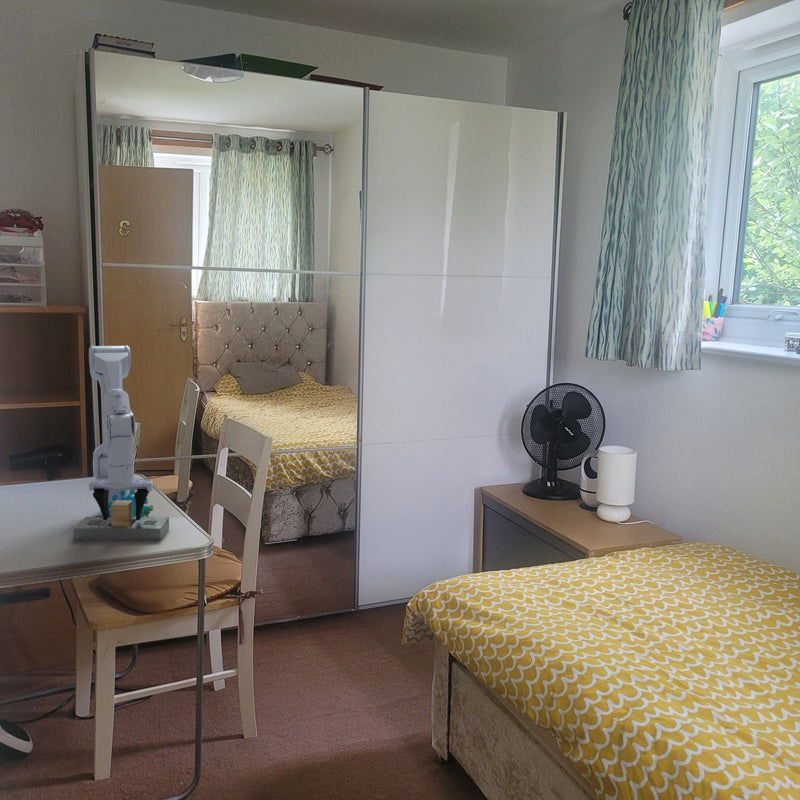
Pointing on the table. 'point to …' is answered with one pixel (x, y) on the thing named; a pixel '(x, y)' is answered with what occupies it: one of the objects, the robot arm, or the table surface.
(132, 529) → the grey holed base
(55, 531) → the table surface
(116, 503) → the peg
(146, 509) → the gear
